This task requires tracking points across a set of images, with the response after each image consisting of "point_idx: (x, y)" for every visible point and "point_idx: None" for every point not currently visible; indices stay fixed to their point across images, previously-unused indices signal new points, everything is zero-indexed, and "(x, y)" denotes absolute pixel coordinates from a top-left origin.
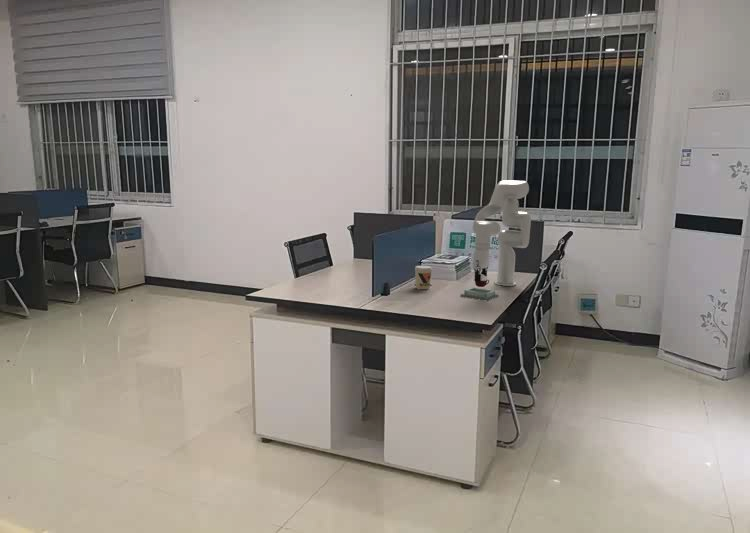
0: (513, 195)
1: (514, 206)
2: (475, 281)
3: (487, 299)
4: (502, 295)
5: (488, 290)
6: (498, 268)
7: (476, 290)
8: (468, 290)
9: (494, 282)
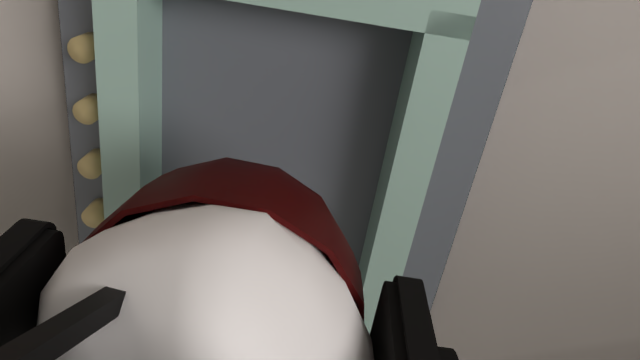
0: None
1: None
2: (119, 207)
3: None
4: (493, 349)
5: (363, 281)
6: None
7: (405, 78)
8: (123, 14)
9: None
